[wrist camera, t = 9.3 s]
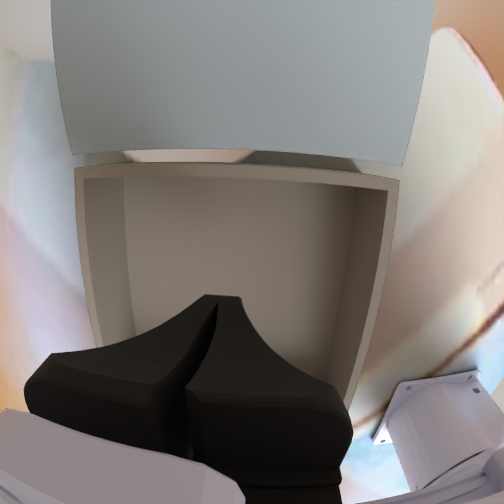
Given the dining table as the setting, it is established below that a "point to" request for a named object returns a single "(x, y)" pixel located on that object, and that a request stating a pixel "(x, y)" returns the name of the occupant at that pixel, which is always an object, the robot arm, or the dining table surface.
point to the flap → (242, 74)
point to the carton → (240, 253)
